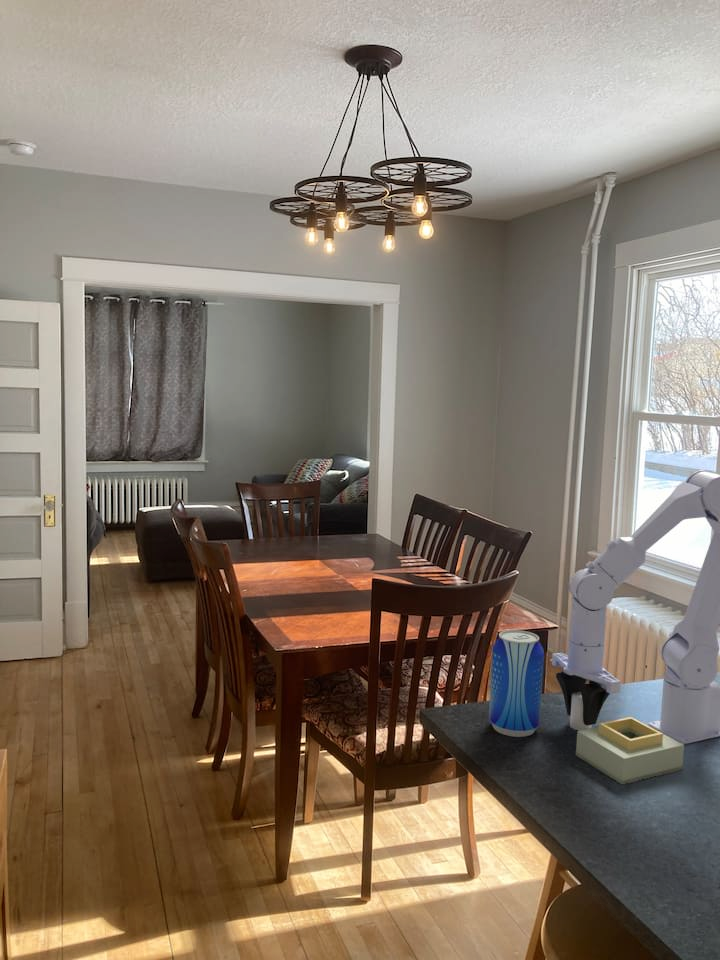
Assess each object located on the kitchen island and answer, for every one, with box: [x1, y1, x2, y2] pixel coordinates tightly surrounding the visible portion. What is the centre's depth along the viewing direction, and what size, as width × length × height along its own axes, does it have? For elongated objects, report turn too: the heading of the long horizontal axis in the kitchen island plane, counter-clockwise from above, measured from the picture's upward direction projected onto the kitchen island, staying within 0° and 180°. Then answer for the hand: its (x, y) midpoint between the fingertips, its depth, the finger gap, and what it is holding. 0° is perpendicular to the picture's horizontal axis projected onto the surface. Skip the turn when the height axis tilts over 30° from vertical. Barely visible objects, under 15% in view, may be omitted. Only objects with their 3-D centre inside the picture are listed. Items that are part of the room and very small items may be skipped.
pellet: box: [569, 692, 593, 731], centre depth 136 cm, size 4×4×6 cm
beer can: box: [488, 629, 545, 738], centre depth 134 cm, size 8×8×16 cm
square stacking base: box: [575, 716, 685, 786], centre depth 123 cm, size 12×10×6 cm
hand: (581, 719), depth 136 cm, fingers closed on pellet, 4 cm apart
